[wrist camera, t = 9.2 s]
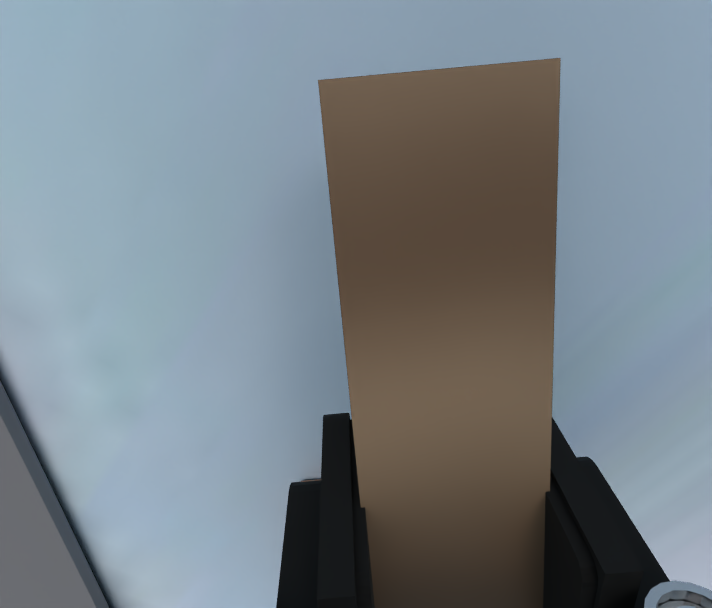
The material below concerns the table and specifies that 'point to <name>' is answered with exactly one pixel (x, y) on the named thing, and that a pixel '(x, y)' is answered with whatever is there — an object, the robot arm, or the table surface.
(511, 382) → the wooden beam
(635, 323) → the table surface
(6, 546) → the tool mat
